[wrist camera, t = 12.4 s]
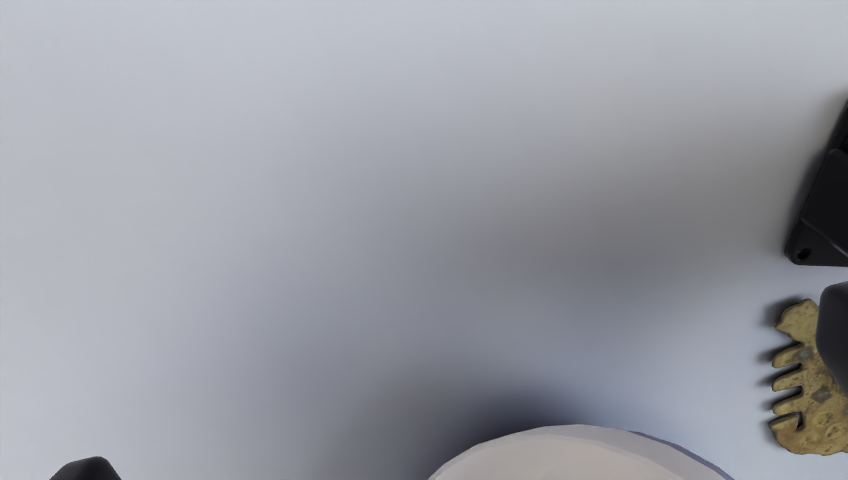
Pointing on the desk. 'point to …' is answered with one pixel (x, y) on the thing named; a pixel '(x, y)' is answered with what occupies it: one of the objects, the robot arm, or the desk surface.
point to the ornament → (808, 390)
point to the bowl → (578, 457)
